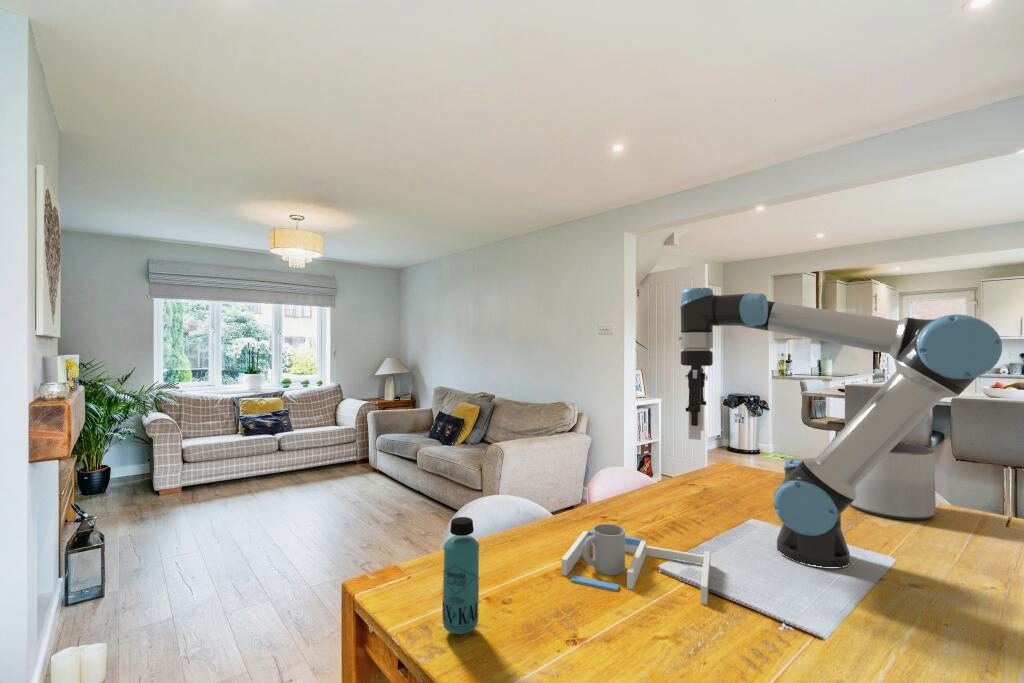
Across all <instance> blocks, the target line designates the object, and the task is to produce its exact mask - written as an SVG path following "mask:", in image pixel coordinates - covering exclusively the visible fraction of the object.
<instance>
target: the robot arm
mask: <svg viewBox="0 0 1024 683" xmlns="http://www.w3.org/2000/svg"><path fill="white" fill-rule="evenodd" d="M713 291H714V290H713V289H712V288H710V287H691V288H690V287H689V288H686V289H683V290H682V292H681V297H680V298H681V300H680V335H681V336H678V338H677V339H678V341H680V348H681V349H683V350H682V351H681V352H680V364H681V366H686V367H687V366H689V367H690V369H689V371H688V372H687V381H688V383H687V386H688V387H687V388H688V406H687V407H685V412H688V440H698V441H701V440H702V431H705V430H704V426H705V425H704V424H705V423H704V422H705V421H704V416H705V415H704V412H705V411H704V410H705V409H704V406H707V401H706V400H705V398H704V388H705V380H706V372H704V368H703V367H710V366H711V367H712V365H713V363H714V361H713V360H714V359H713V358H714V356H713V355H714V354H713V351H712V350H711V349H713V348H714V332H713V331H714V330H713V329H714V328H713V327H714V326H715V327H716V326H717V327H720V326H721V327H723V326H724V327H725V326H726V327H729V326H731V327H732V326H733V327H734V326H735V327H737V326H739V327H744V328H747V329H748V328H749V329H755V330H761V331H768V332H772V333H773V332H774V333H777V334H784V335H788V336H794V337H799V338H805V339H810V340H814V341H821V342H825V343H831V344H835V345H842V346H846V347H847V346H848V347H852V348H858V349H863V350H866V351H868V350H869V351H873V352H880V353H884V354H889V355H890V356H891V358H892V359H894V364H895V372H894V373H893V374H892V375H891V376H890V378H889V379H888V380H887V381H886V382H885V383H884V384H883V385H882V386H881V387H880V388H879V389H878V391H877V392H875V394H874V395H873V396H872V397H871V398H870V399H869V400H868V401H867V402H866V403H865V405H864V406H863V407H862V408H861V409H860V410H859V411H858V412H857V414H855V415H854V416H853V417H852V419H851V420H850V421H849V422H848V423H847V424H846V425H845V427H844V428H843V429H841V430H840V431H839V433H838V434H837V435H836V436H835V437H834V438H833V440H831V441H830V443H828V445H827V446H825V447H824V449H823V450H822V451H821V452H820V453H819V455H818V456H816V457H812V458H811V457H807V458H804V459H803V458H787V459H786V460H785V462H784V466H783V470H784V480H783V481H782V482H781V484H780V485H779V486H778V487H777V488H776V490H775V491H774V494H773V495H774V496H773V506H774V510H775V513H776V514H777V517H778V518H779V520H780V521H781V522H782V526H781V528H780V529H779V530H780V531H779V534H778V536H777V538H776V550H777V549H778V550H777V551H780V552H781V553H782V554H784V555H785V556H787V557H789V558H791V559H793V560H795V561H798V562H802V563H805V564H810V565H816V566H822V567H843V566H846V565H848V564H849V563H850V564H851V555H850V554H851V552H850V550H849V547H848V545H847V541H846V540H845V536H844V534H843V531H842V524H841V523H842V521H841V520H842V519H841V518H842V513H843V512H844V511H845V510H846V509H847V508H848V507H849V506H851V505H850V504H851V503H852V502H853V501H854V500H855V499H856V498H857V495H856V491H855V487H856V485H857V484H858V483H859V482H860V481H861V480H862V479H863V478H864V477H865V476H866V475H867V474H868V473H869V472H870V471H871V470H872V469H873V468H874V467H875V466H876V465H877V464H878V463H879V462H880V461H881V460H882V459H883V458H884V457H885V456H886V455H887V454H888V453H889V452H890V451H891V450H892V449H893V448H894V447H895V446H896V445H897V444H898V443H899V442H902V441H901V440H903V439H904V438H905V437H906V436H907V435H908V433H910V432H911V430H912V429H914V428H915V427H916V426H917V425H918V424H919V422H920V421H921V420H923V418H924V417H926V415H927V414H928V413H929V412H930V411H931V410H932V409H933V408H934V407H935V406H936V405H937V404H938V403H939V402H940V401H941V400H942V399H945V398H958V397H959V396H960V395H961V394H962V393H963V392H964V391H966V389H967V388H968V387H969V386H970V385H971V384H972V383H973V382H974V381H975V380H976V379H977V378H978V377H980V376H982V375H985V374H986V373H987V372H990V371H991V370H992V369H994V367H995V366H996V365H997V364H998V363H999V360H1000V359H1001V356H1002V353H1003V343H1002V342H1003V341H1002V339H1001V337H1000V335H999V334H998V331H996V329H995V328H994V327H993V326H991V325H990V324H989V323H988V322H986V321H984V320H982V319H980V318H976V317H973V316H970V315H967V314H948V315H944V316H940V317H938V318H936V319H935V318H934V319H925V318H924V319H923V318H914V317H903V318H901V319H899V320H896V319H889V318H882V317H877V316H871V315H863V314H857V313H849V312H843V311H837V310H831V309H830V310H829V309H822V308H817V307H810V306H802V305H799V304H798V305H797V304H792V303H791V304H790V303H783V302H777V301H776V302H775V301H771V300H768V299H767V296H766V295H765V294H764V293H755V292H753V293H752V292H747V293H739V294H738V293H737V294H724V295H719V294H718V295H717V294H714V292H713ZM795 561H794V562H795ZM798 562H797V563H798ZM850 564H849V565H850ZM849 565H848V566H849Z"/></svg>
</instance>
